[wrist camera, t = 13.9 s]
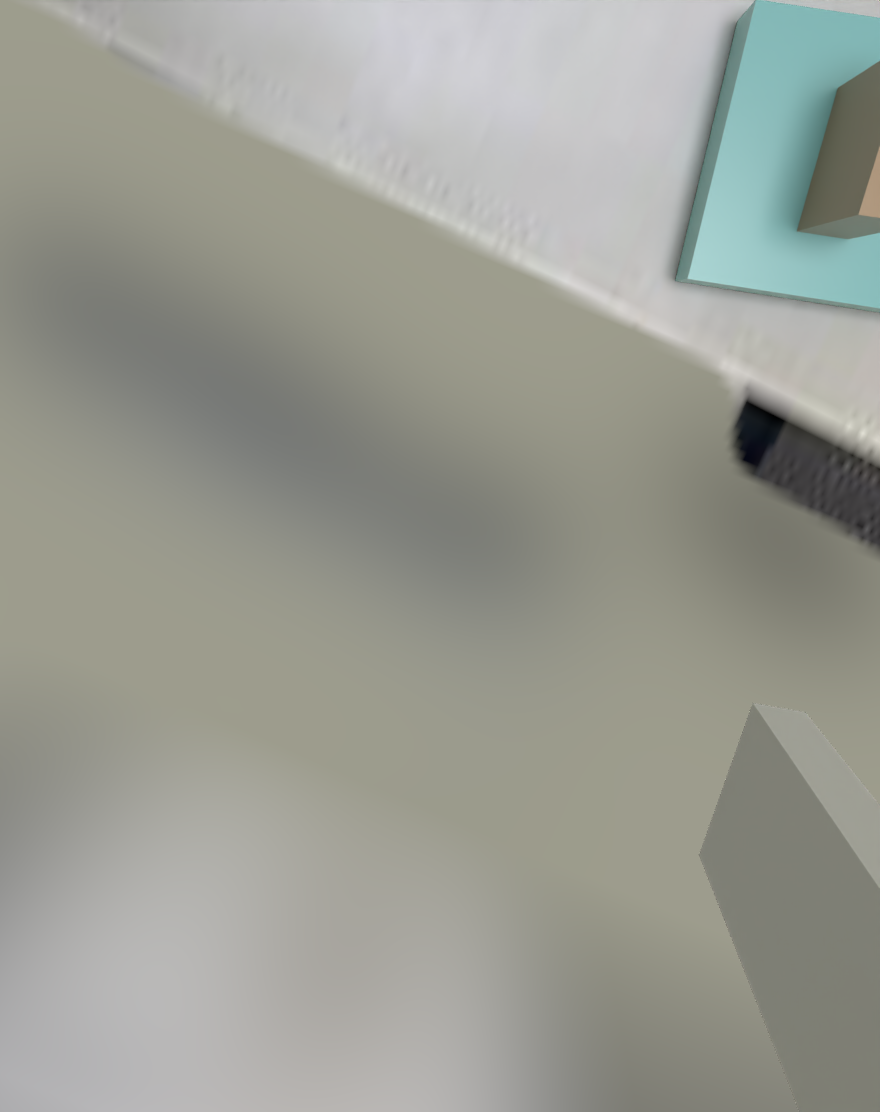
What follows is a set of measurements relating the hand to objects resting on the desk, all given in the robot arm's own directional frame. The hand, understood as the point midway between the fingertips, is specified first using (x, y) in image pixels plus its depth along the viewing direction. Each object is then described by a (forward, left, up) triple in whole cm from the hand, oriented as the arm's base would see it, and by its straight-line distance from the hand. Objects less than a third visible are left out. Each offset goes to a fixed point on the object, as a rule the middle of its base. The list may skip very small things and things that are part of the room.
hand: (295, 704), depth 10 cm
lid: (-15, +17, -32) cm, 39 cm away
